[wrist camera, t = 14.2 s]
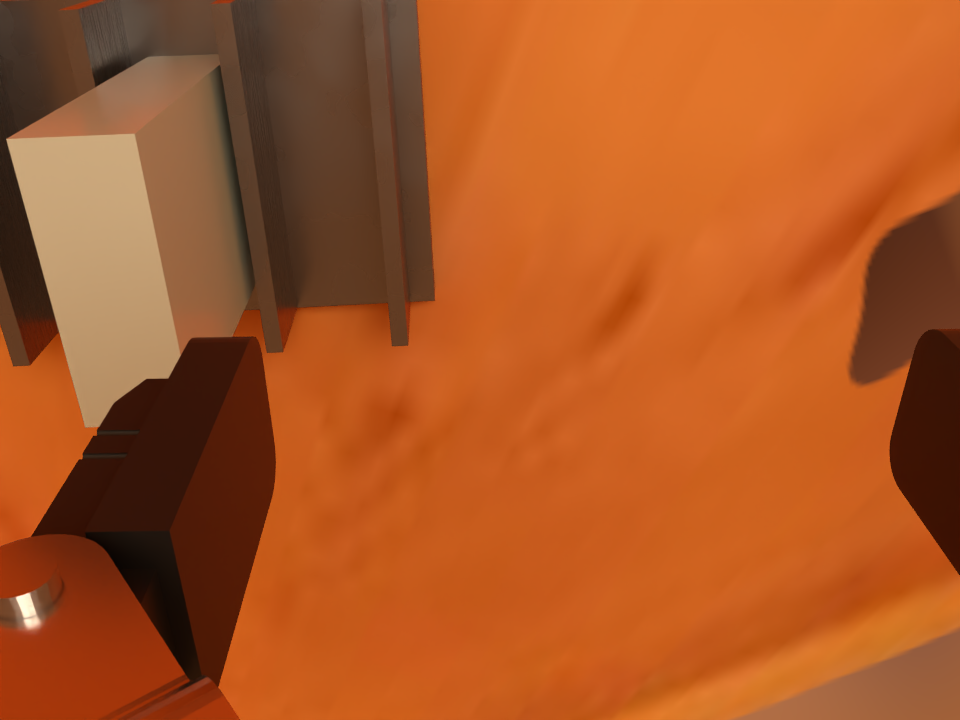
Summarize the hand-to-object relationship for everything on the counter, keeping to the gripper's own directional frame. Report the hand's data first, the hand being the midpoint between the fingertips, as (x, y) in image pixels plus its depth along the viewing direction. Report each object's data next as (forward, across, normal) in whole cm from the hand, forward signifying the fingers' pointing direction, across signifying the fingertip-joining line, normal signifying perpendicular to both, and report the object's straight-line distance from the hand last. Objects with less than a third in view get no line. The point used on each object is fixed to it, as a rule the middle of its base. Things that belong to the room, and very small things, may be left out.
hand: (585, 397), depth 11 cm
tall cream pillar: (+24, +11, +4) cm, 26 cm away
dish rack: (+25, +13, +4) cm, 29 cm away
